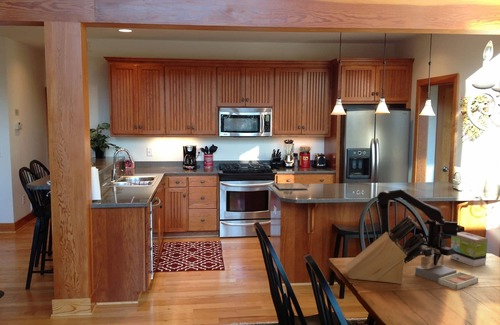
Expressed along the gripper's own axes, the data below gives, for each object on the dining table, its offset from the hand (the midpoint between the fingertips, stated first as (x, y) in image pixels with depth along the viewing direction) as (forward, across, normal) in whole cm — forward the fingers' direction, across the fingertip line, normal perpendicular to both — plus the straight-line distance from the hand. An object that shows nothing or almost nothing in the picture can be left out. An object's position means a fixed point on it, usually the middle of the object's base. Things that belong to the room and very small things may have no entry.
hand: (432, 264), depth 207 cm
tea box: (+5, +2, -36) cm, 37 cm away
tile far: (+2, -15, -4) cm, 15 cm away
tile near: (+3, -15, +4) cm, 15 cm away
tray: (+5, -14, 0) cm, 14 cm away
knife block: (+5, +8, +26) cm, 28 cm away
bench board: (+5, -2, 0) cm, 6 cm away
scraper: (+1, 0, 0) cm, 1 cm away
